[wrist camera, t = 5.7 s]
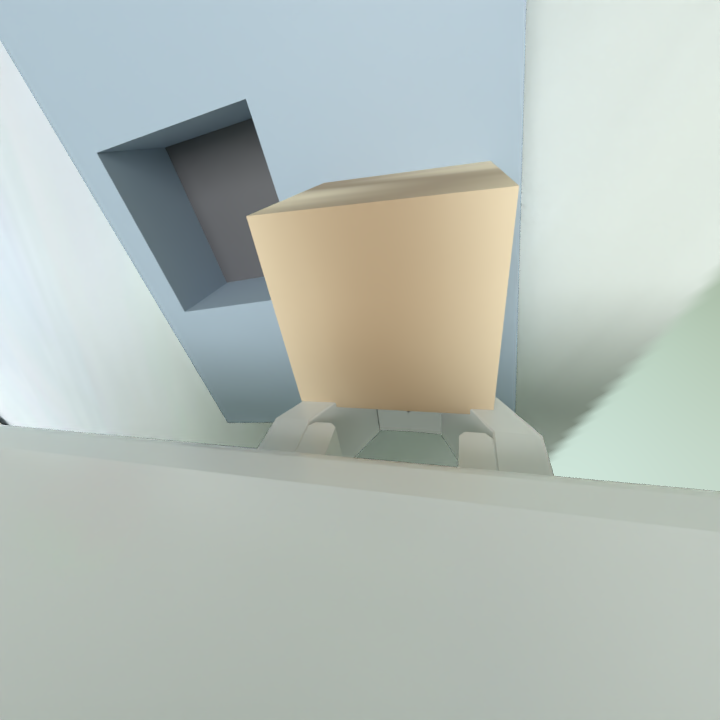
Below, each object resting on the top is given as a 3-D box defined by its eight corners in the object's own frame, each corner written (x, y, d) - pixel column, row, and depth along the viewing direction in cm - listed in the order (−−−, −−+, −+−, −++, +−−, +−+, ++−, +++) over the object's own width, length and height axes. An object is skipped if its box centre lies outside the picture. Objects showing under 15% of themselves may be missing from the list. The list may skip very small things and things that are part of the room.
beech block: (347, 322, 11) (303, 405, 7) (323, 182, 8) (246, 215, 5) (479, 320, 10) (492, 415, 6) (490, 161, 7) (519, 186, 4)
